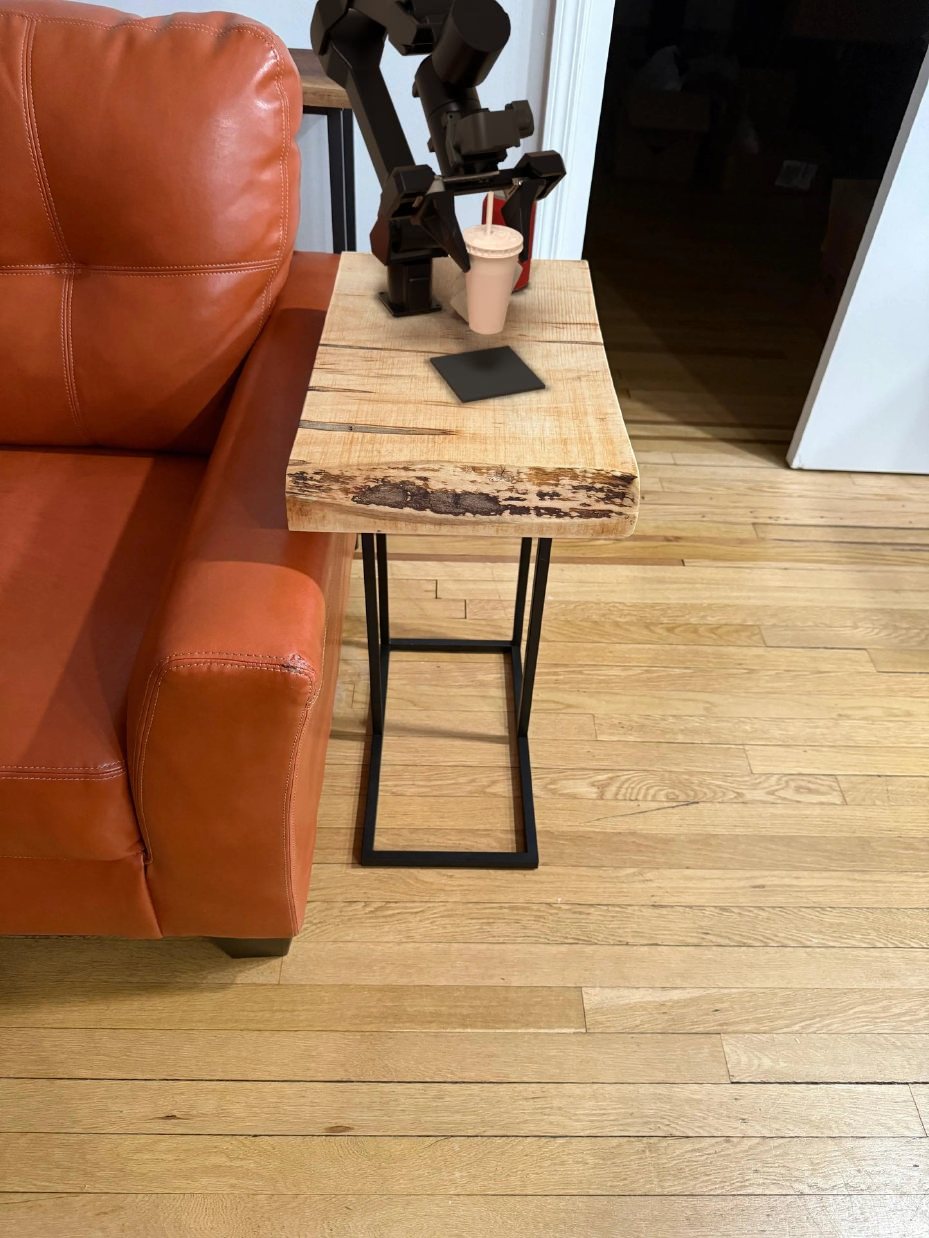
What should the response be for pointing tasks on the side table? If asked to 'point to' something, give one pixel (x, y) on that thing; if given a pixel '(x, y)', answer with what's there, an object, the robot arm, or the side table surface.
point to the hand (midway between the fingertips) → (496, 266)
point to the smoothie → (490, 272)
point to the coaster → (486, 373)
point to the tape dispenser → (460, 292)
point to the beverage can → (498, 220)
